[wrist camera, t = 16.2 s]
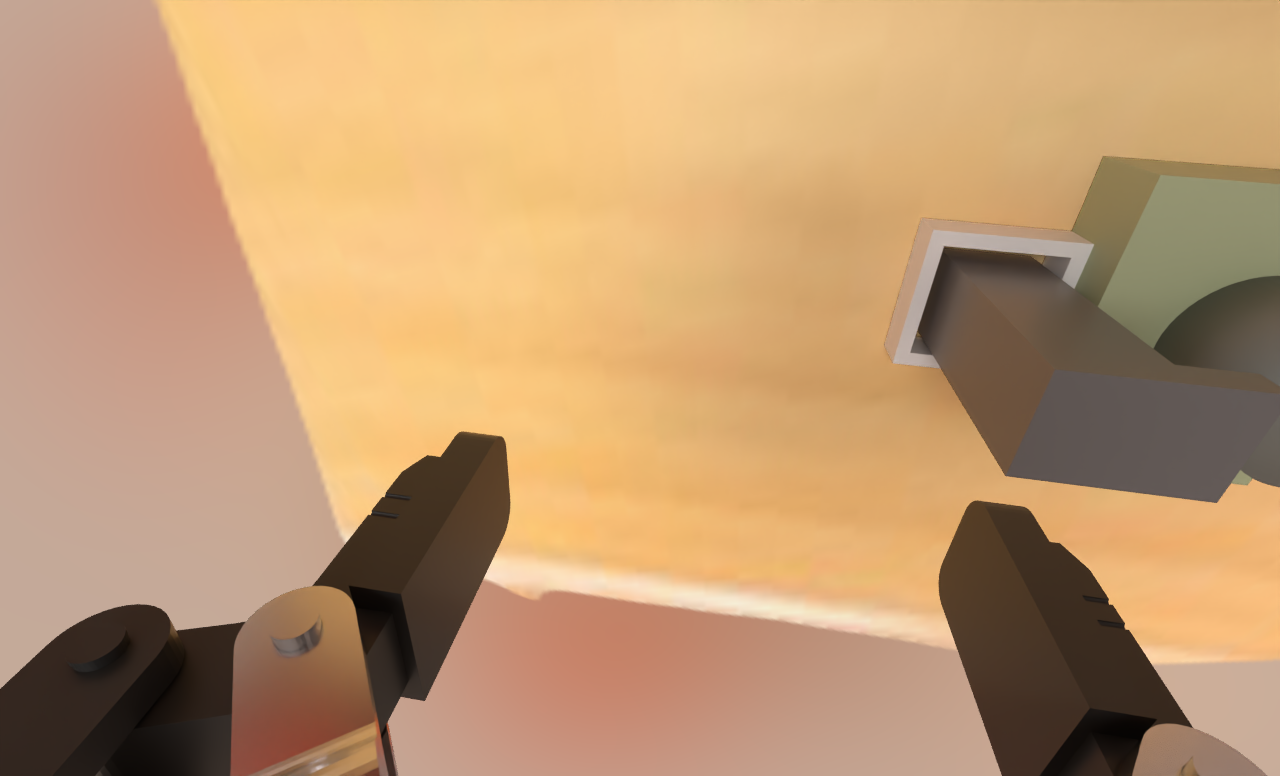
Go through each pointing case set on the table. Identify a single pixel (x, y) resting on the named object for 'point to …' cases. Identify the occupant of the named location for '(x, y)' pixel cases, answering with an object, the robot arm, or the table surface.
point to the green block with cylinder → (1148, 269)
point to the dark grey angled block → (1084, 386)
